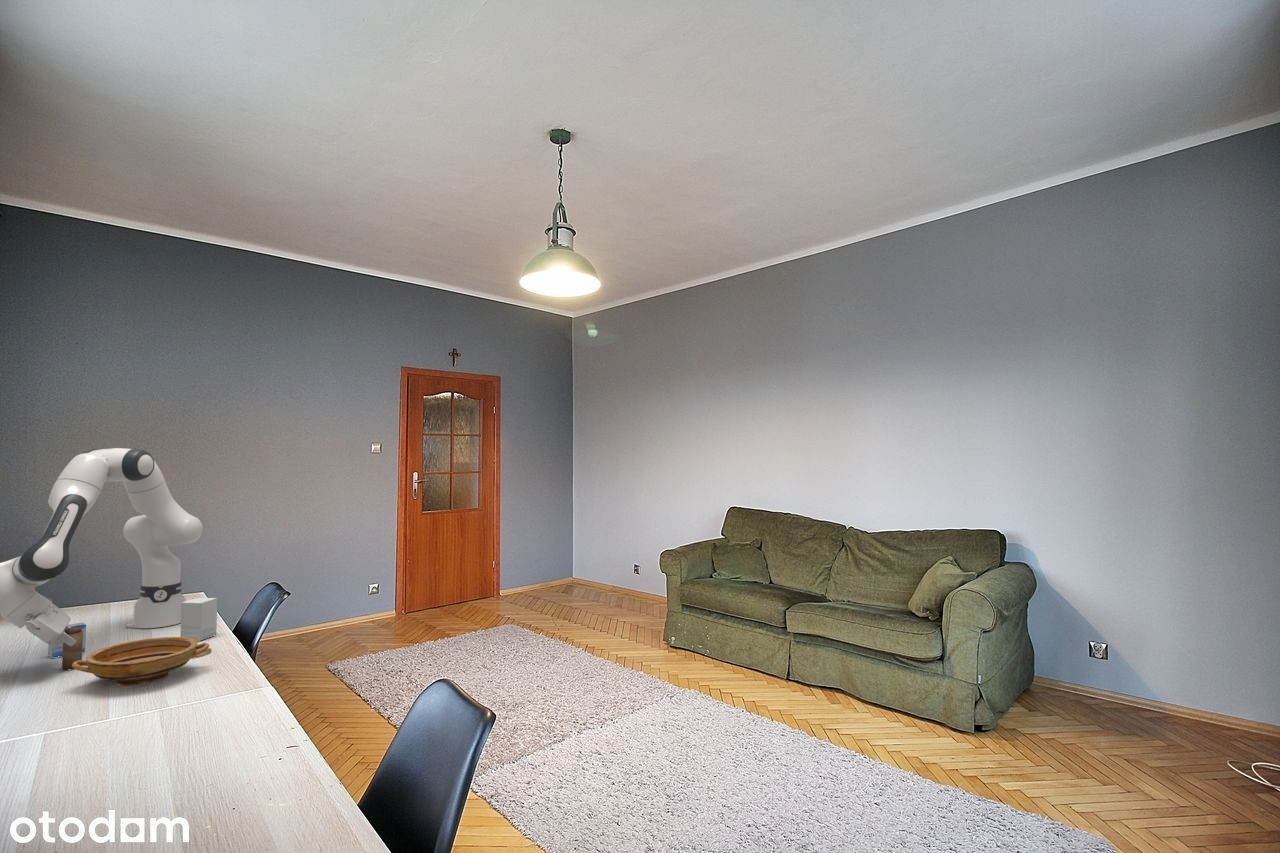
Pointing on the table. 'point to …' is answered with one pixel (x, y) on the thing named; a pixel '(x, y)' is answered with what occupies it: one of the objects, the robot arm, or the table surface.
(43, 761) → the table surface
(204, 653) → the cork coaster
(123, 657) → the ceramic bowl
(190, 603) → the supplement box
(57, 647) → the medicine box
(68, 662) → the pepper mill
